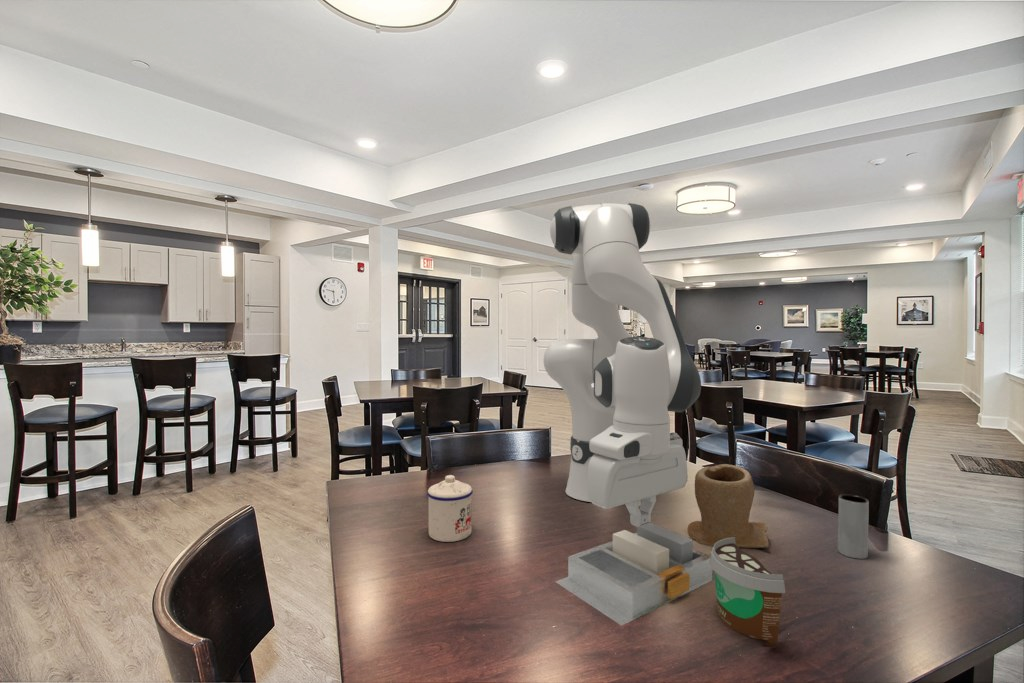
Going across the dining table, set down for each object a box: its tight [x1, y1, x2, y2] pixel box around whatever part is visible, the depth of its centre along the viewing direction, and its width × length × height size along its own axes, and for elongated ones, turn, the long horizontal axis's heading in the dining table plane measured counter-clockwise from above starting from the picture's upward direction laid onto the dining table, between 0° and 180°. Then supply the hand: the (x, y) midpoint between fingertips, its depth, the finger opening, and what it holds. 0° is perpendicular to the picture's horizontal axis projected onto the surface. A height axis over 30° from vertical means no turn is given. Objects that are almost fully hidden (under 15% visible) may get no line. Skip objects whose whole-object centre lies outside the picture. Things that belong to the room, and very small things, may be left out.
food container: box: [709, 538, 786, 649], centre depth 67 cm, size 12×6×10 cm, turn 5°
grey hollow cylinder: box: [837, 493, 870, 560], centre depth 89 cm, size 4×4×10 cm
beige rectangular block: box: [612, 529, 669, 575], centre depth 78 cm, size 3×9×6 cm, turn 35°
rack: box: [555, 532, 715, 627], centre depth 78 cm, size 24×15×5 cm, turn 125°
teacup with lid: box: [426, 474, 474, 543], centre depth 99 cm, size 12×9×12 cm
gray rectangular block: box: [636, 522, 694, 564], centre depth 82 cm, size 3×9×6 cm, turn 35°
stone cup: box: [687, 463, 770, 549], centre depth 93 cm, size 15×12×15 cm
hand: (640, 523), depth 78 cm, fingers closed
